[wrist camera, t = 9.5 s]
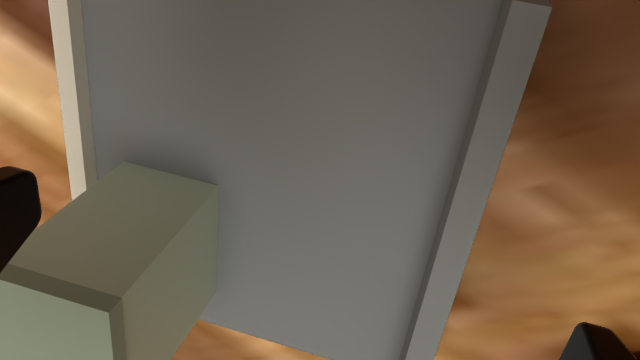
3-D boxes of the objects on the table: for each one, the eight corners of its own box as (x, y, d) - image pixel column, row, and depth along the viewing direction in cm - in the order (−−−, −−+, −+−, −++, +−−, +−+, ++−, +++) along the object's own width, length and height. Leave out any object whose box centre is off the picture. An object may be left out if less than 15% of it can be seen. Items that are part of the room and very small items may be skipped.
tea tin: (119, 159, 24) (-27, 271, 17) (220, 184, 23) (108, 312, 16) (127, 268, 27) (6, 399, 20) (216, 293, 26) (120, 439, 20)
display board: (68, -103, 20) (-20, -99, 17) (539, -20, 18) (551, 7, 14) (103, 272, 30) (50, 326, 26) (417, 365, 27) (406, 440, 23)
